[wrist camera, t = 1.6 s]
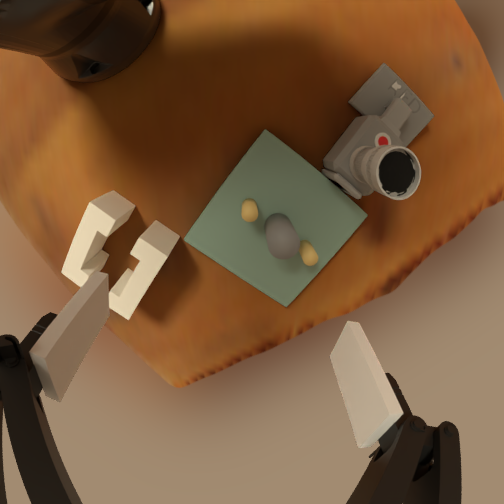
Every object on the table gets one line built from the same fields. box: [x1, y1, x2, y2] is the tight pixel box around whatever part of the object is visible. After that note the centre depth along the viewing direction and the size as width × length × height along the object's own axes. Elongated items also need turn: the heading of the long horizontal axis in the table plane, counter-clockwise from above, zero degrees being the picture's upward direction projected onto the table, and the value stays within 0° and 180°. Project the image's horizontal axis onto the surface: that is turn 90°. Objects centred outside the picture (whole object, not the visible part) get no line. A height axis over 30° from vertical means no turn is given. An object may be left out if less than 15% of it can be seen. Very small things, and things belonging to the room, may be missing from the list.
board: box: [184, 129, 368, 307], centre depth 30 cm, size 15×15×7 cm
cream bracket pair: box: [61, 190, 180, 320], centre depth 31 cm, size 10×10×6 cm
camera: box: [322, 63, 434, 200], centre depth 24 cm, size 9×12×15 cm
